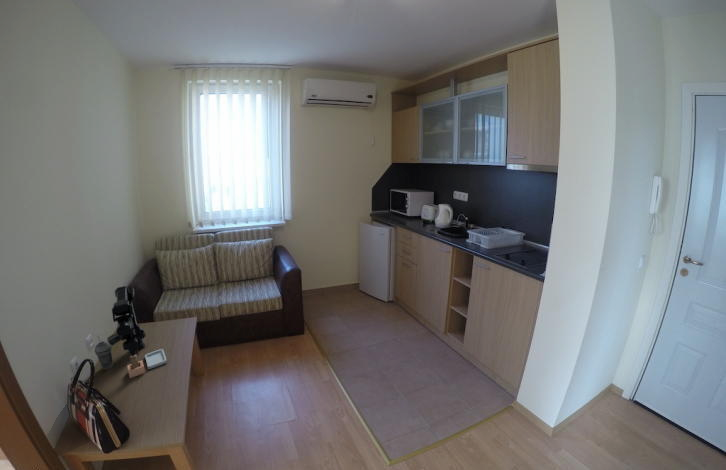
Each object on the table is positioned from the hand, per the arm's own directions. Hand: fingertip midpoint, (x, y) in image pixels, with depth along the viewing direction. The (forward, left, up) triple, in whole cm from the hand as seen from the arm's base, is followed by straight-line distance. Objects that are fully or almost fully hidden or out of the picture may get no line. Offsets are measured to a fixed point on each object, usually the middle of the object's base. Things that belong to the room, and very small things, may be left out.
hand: (132, 351), depth 167 cm
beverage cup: (-16, -12, -13) cm, 24 cm away
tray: (-5, +9, -13) cm, 17 cm away
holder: (0, 0, -13) cm, 13 cm away
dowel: (0, 0, -13) cm, 13 cm away
